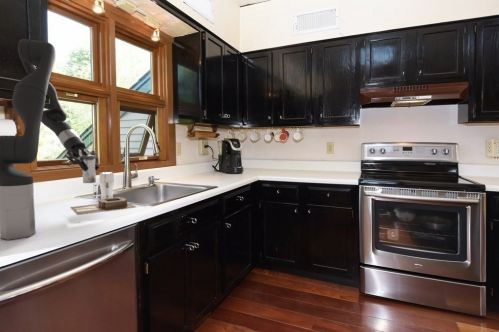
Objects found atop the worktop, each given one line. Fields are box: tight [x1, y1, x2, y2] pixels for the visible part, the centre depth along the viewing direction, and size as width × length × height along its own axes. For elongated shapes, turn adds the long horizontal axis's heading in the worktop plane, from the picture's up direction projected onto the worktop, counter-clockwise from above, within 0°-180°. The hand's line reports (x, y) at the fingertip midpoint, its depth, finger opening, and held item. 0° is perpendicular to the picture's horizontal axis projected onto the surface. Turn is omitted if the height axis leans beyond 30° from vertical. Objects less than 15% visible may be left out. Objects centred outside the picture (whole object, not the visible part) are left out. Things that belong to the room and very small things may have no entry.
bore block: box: [70, 196, 137, 216], centre depth 131 cm, size 18×24×4 cm
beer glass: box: [99, 171, 115, 199], centre depth 153 cm, size 7×7×15 cm
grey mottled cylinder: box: [81, 154, 97, 184], centre depth 126 cm, size 6×6×12 cm
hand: (92, 169), depth 126 cm, fingers closed on grey mottled cylinder, 5 cm apart
